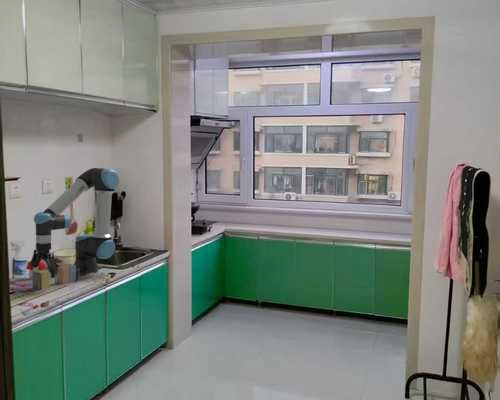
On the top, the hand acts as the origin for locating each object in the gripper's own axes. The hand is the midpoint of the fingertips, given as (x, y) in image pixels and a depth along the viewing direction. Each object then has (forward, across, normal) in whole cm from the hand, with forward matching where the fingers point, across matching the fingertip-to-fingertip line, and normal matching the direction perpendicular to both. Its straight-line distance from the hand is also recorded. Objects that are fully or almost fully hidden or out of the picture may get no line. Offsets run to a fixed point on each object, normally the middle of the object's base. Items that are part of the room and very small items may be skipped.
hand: (43, 281), depth 252 cm
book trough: (+5, 0, +6) cm, 8 cm away
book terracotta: (+4, 0, +12) cm, 13 cm away
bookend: (+3, 0, -6) cm, 7 cm away
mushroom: (+5, -22, +10) cm, 25 cm away
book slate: (+4, 0, +17) cm, 17 cm away
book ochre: (+4, 0, 0) cm, 4 cm away
